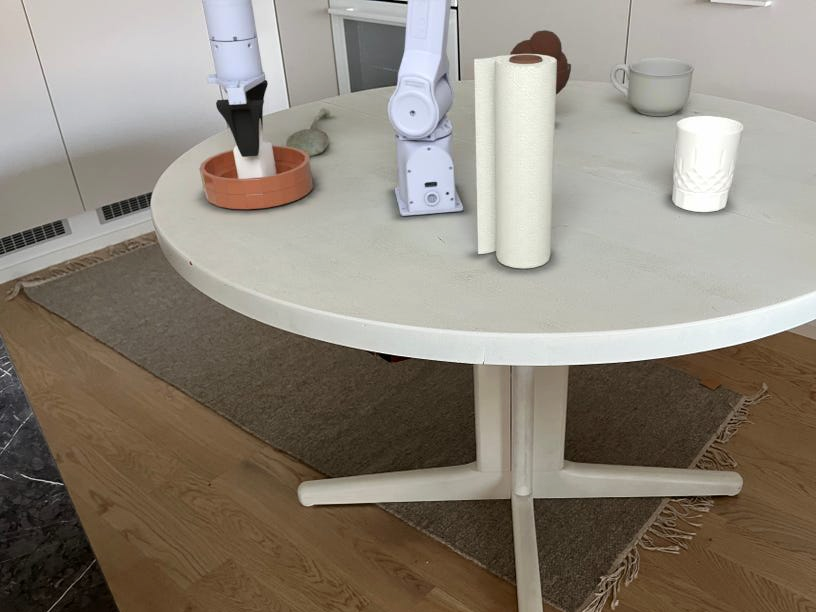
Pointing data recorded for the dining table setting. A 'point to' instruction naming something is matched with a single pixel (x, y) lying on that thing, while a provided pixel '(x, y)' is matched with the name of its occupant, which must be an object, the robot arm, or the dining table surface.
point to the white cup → (705, 162)
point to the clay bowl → (257, 180)
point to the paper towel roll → (515, 156)
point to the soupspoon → (310, 137)
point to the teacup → (656, 84)
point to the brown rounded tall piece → (547, 53)
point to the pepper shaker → (256, 160)
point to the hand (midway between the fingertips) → (252, 146)
